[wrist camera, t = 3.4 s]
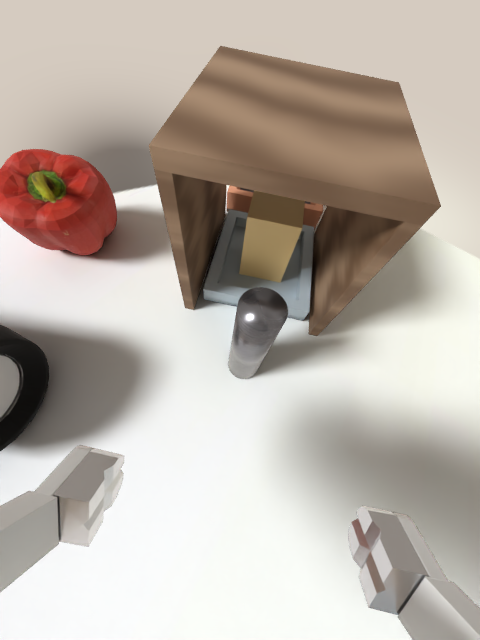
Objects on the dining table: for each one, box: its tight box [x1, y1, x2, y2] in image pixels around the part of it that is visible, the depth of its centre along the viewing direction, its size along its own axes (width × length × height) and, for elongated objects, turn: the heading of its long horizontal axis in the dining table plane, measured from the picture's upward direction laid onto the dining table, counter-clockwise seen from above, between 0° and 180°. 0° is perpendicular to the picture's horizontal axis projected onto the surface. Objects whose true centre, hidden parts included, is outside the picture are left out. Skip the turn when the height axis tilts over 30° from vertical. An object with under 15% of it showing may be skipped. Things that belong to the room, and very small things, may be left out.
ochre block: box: [239, 191, 305, 283], centre depth 26 cm, size 5×5×8 cm
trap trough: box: [227, 186, 323, 229], centre depth 35 cm, size 8×13×3 cm, turn 79°
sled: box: [203, 209, 314, 379], centre depth 23 cm, size 21×11×11 cm, turn 169°
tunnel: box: [149, 46, 441, 336], centre depth 23 cm, size 16×15×16 cm
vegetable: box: [0, 149, 117, 255], centre depth 25 cm, size 11×10×10 cm
